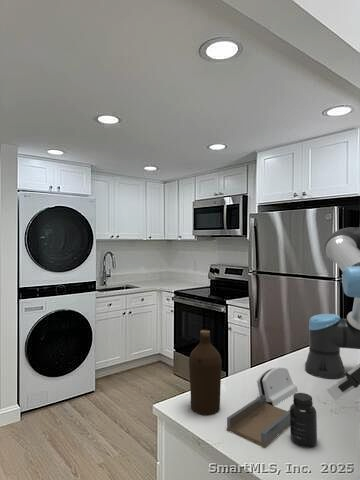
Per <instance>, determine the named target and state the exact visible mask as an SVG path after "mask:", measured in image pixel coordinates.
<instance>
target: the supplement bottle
mask: <svg viewBox="0 0 360 480" xmlns="http://www.w3.org/2000/svg"><path fill="white" fill-rule="evenodd" d="M292 396H293V400H292V401H293V403H292V404H291V405H290V406H289V410H290V426H289V427H290V428H289V429H290V430H289V432H290V433H289V434H290V438H291V441H292V442H293V443H294V444H295V445H297V446H299V447H302V448H312V447H315V446H316V445H317V443H318V424H317V423H318V421H317V410H316V408H315V407H314V405H313V403H314V402H313V396H311V394H308V393H305V392H297V393H295V394H293V395H292Z"/></svg>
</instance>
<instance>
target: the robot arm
mask: <svg viewBox="0 0 360 480" xmlns="http://www.w3.org/2000/svg"><path fill="white" fill-rule="evenodd" d="M323 247H324V249H323V250H324V253H325V255H326V256H327V258H328V259H329V260H330V261H331V262H333V263H336V265H337V266H338V268H339V269H340V270H341V272H342V276H341V284H342V290H343V293H344V295H346V296H347V297H350V298H354V299H353V306H352V311H350V312H348V314H347V315H346V318H341V317H340V315H338V314H336V313H322V314H321V313H319V314H315V315H313V316H311V317H310V319H309V321H308V323H309V325H308V330H309V331H308V333H309V335H308V336H309V339H308V340H309V347H308V350H309V351H308V354H307V357H306V361H305V362H304V371H306V373H308V374H310V375H311V376H315V377H317V378H322V379H329V380H330V379H331V380H332V379H333V380H334V379H340V378H341V379H340V380H338V381H337V382H336V383H333V385H331V386H330V387H329V388H327V389H326V391H327V392H328V393H329V395H330V396H331V397H332V398H331V399H333V400H334V401H337V400H338V399H340V398H342V397H343V396H345V395H346V394H348V393H349V392H350V391H351V390H354V389H356V388H358V387H359V386H360V363H359V364H357V365H356V366H355V367H353V368H351V369H350V370H349V371H348V372H345V371H346V369H345V366H344V364H343V360H342V357H341V349H352V350H353V349H354V350H360V226H359V227H345V228H340V229H338V230H336V231H334V232H332V233H331V234H330V235H329V236H328V237H327V238H326V240H325V242H324V246H323Z"/></svg>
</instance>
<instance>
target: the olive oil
mask: <svg viewBox="0 0 360 480" xmlns="http://www.w3.org/2000/svg"><path fill="white" fill-rule="evenodd" d="M199 333H200V334H199V343H198V344H197V345H196V346H195V348H194V349H192V351H191V352H190V355H189V359H188V367H189V368H188V369H189V387H190V390H189V391H190V409H191V410H192V411H193V413H195V414H198V415H201V416H202V415H203V416H210V415H211V416H212V415H215V414H217V413H218V412H219V411H220V410H221V384H222V366H223V365H222V364H223V363H222V361H223V360H222V357H221V353H220V352H219V351H218V350H217V348H216V347H215V346H214V345H213V344H212V343H211V331H210V330H208V329H202V330H200V331H199Z"/></svg>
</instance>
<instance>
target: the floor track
mask: <svg viewBox="0 0 360 480" xmlns="http://www.w3.org/2000/svg"><path fill="white" fill-rule="evenodd" d="M289 425H290V409H288V410H286V409H282V408H280V407H277V406H273V405H271V404H268V403H267V402H266V401H265V395H261V396H260V395H259V396H257V398H255V399H254V400H252V401H251V402H249V403H248V404H247V403H246V405H244V406H243V407H241V408H240V409H238V410H237V411H235V412H234V413H232V414H231V415H229V416H228V417H226V431H229V432H230V431H231V433H232V432H233V433H232V434H235V435H236V436H239V437H240V438H244V439H245V440H247V441H249V442H252V443H254V444H255V445H259V446H260V447H263V448H267V446H269V444H270V443H272V442H273V441H274V440H275V439H276V438H277V437H278V436H279V435H281V434H282V433H283V432H284V431H285V430H286V429H288V427H290V426H289ZM284 429H285V430H284ZM283 430H284V431H283ZM282 431H283V432H282ZM281 432H282V433H281ZM280 433H281V434H280ZM278 434H279V435H278ZM277 435H278V436H277ZM276 436H277V437H276ZM275 437H276V438H275ZM274 438H275V439H274ZM273 439H274V440H273ZM272 440H273V441H272ZM271 441H272V442H271Z"/></svg>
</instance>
